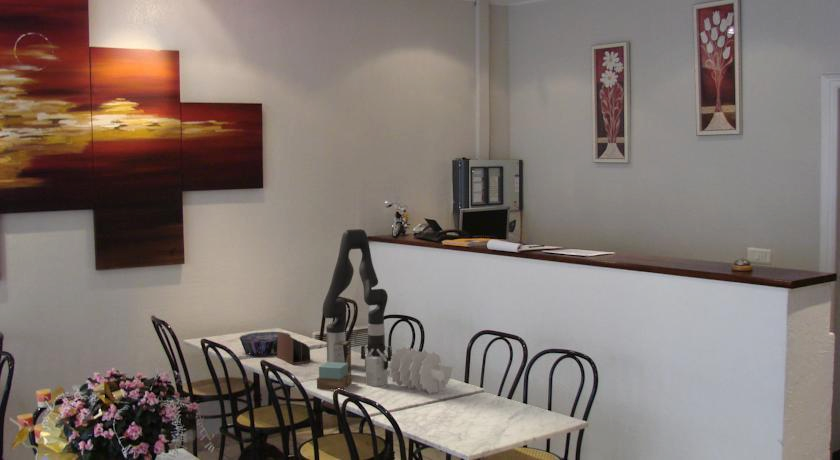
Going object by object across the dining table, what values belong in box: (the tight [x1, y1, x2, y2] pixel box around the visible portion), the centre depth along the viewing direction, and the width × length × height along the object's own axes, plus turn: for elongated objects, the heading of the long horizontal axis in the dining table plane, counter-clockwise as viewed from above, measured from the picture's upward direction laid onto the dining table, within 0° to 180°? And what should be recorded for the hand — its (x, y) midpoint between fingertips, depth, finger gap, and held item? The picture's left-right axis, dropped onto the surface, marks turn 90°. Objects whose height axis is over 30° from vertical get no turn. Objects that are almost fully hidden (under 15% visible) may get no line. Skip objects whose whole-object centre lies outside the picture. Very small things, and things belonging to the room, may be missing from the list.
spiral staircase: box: [388, 345, 453, 394], centre depth 375 cm, size 18×18×25 cm
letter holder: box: [276, 331, 311, 366], centre depth 434 cm, size 10×20×14 cm, turn 32°
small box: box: [365, 354, 389, 388], centre depth 385 cm, size 8×6×13 cm
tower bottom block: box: [316, 372, 352, 391], centre depth 383 cm, size 12×12×5 cm
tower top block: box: [318, 361, 348, 379], centre depth 382 cm, size 10×10×5 cm
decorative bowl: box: [239, 331, 292, 356], centre depth 455 cm, size 26×28×10 cm
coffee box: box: [333, 340, 352, 374], centre depth 399 cm, size 9×6×16 cm
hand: (376, 368), depth 385 cm, fingers closed on small box, 8 cm apart
